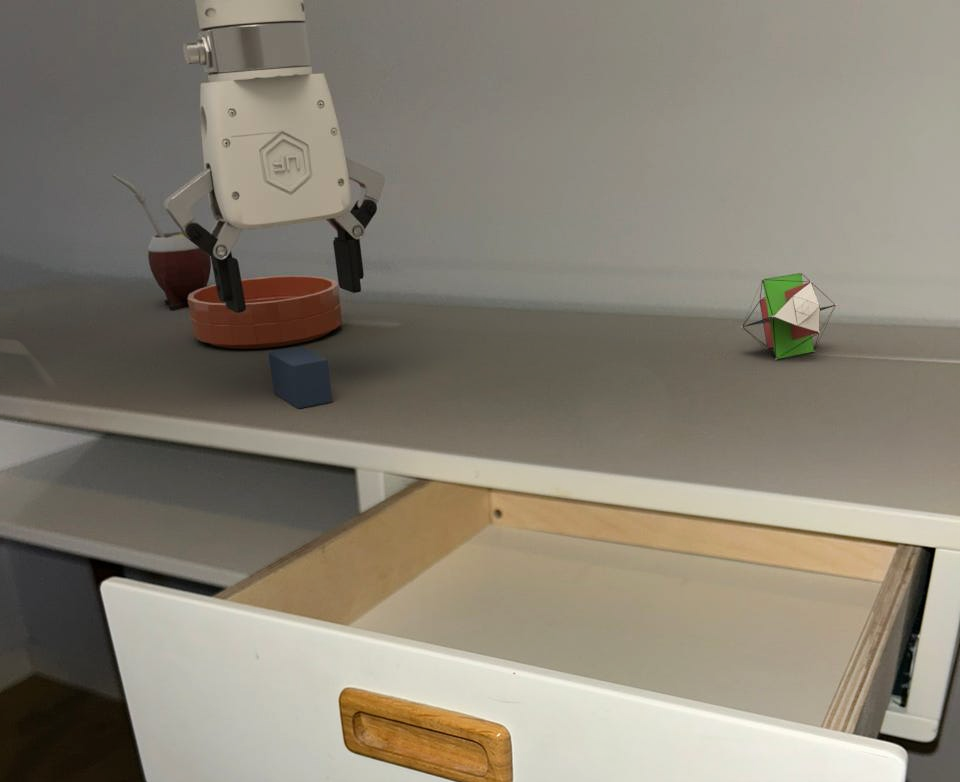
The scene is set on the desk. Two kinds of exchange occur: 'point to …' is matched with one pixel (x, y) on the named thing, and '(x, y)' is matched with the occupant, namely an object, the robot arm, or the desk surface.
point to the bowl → (268, 312)
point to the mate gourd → (174, 260)
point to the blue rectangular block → (300, 377)
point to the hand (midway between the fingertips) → (294, 300)
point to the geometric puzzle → (789, 315)
